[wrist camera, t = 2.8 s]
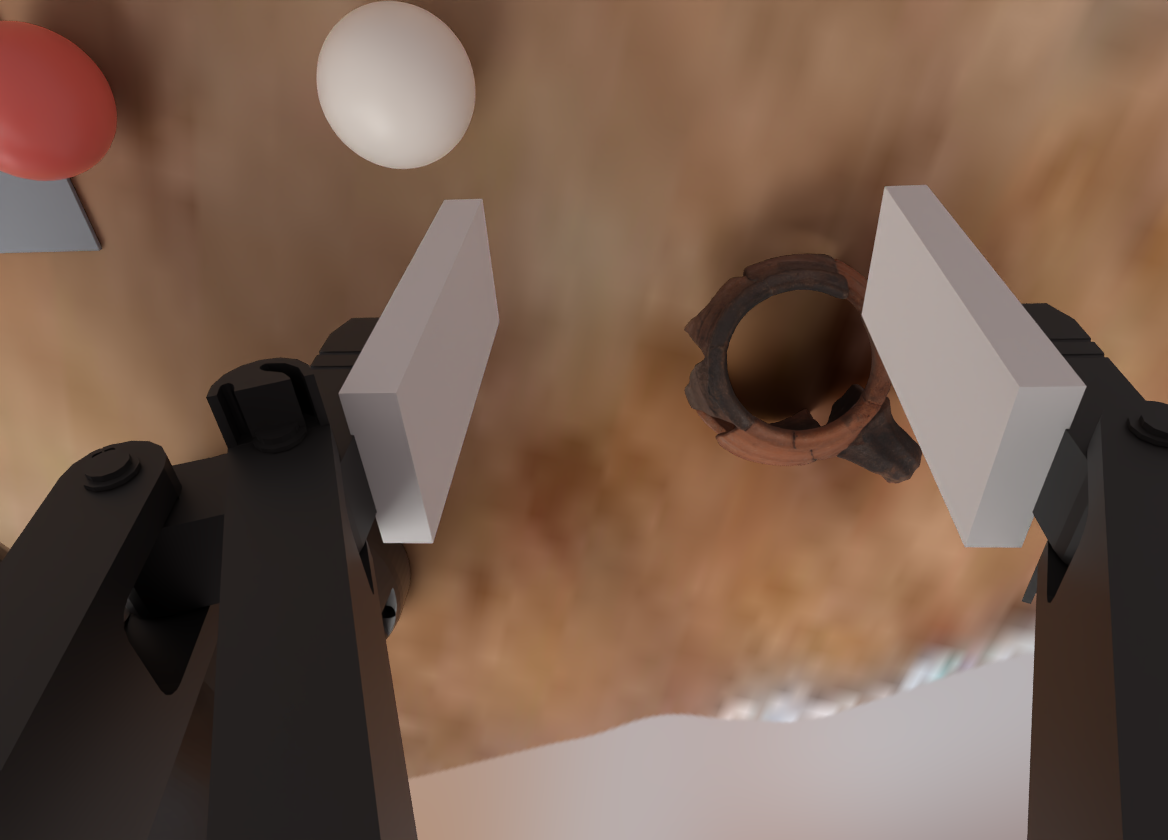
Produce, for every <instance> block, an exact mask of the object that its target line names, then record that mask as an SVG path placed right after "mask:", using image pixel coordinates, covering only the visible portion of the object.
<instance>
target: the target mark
mask: <svg viewBox="0 0 1168 840" xmlns="http://www.w3.org/2000/svg"><path fill="white" fill-rule="evenodd" d="M101 249H102V248H101V245H100V243H99V241H98V239H97V237H96V235H95V232H94V230H93V228H92V226H91V224H90V222H89V219H88V217H87V215H86V213H85V211H84V209H83V206H82V204H81V202H80V200H79V198H78V196H77V193H76V191H75V189H74V187H73V185H72V183H71V180H70V178H67V179H62V180H55V181H36V180H30V179H24V178H19V177H16V176H12V175H10V174H7V173H4V172H2V171H0V253H20V252H59V251H97V250H101Z"/></svg>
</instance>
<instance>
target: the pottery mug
mask: <svg viewBox="0 0 1168 840" xmlns="http://www.w3.org/2000/svg"><path fill="white" fill-rule="evenodd" d="M867 282H868V280H867V279H865V278H864V277H863V276H862V275H861V274H860V273H858V272H857V271H856V270H854V269H853V268H852V267H850V266H848V265H847V264H845V263H843V262H842V261H840V260H837V259H835V260H834V259H833V258H832V257H830V256H828V255H825V254H797V255H786V256H780V257H776V258H771V259H768V260H765V261H762V262H759V263H756V264H753V265H750V266H748V267H747V268H745V269H744V272H743V277H734V278H731V279H729V280H728V281H727V282H726V283H725V284H724V285H723V286H722V287H721V288H720V289H719V291H718V292H717V293H716V295H715V296H714V297H713V298H712V299H711V301H710V303H709V304H708V305H707V306H706V307H705V308H704V309H703V310H702V311H701V312H700V313H699V314H698V315H697V316H696V317H694V318H693V319H692V320H691V321H690V322H689V323H688V324H687V325H686V326H685V328H684V330H685V331H686V332H687V333H688V334H689V335H690V337H691V338H692V340H693V341H694V342H695V343H696V344H697V345H698V346H699V348H700V349H701V350H702V352H703V354H704V356H705V358H704V360H703V361H701V362H700V363H698V364H696V365H695V367H694V369H693V370H692V372H691V374H690V382H689V384H688V385H687V386H686V387H685V394H686V397H687V399H688V402H689V404H690V406H691V408H693V409H696V410H697V413H698V414H699V416H700V417H701V418H702V420H703V421H704V422H705V423H706V424H707V425H708V426H709V427H711V428H712V429H713V430H714V431H715V432H716V433H718V435H717V436H716V439H717V441H718V443H719V444H720V446H722V447H723V448H725V449H726V450H728V451H729V452H731V453H732V454H734V455H736V456H738V457H741V458H743V459H746V460H749V461H753V462H757V463H762V464H769V465H781V466H793V465H805V464H809V463H811V462H814V461H816V460H817V459H821V460H823V459H827V458H831V457H835V456H837V457H839V458H843V459H846V460H848V461H851V462H853V463H855V464H857V465H859V466H861V467H864V468H865V469H867V470H869V471H871V472H873V473H876V474H880V475H881V476H883V478H884V479H885V480H886V481H887V482H889V483H900V482H902V481H905V480H908V479H910V478H911V476H912V474H913V473H914V471H915V470H916V469H917V468H918V467H919V466H920V462H921V455H922V450H921V448H920V446H919V445H918V444H917V443H916V442H915V441H914V440H913V439H912V438H911V437H910V436H909V435H908V434H907V433H906V432H905V431H904V430H903V429H902V428H901V427H900V426H899V425H898V424H897V423H896V422H895V420H894V419H893V417H892V414H891V408H890V400H889V398H888V397H886V396H887V394H888V392H889V390H890V386H891V383H892V382H891V380H890V378H889V376H888V373H887V371H886V369H885V367H884V364H883V362H882V360H881V358H880V355H879V353H878V351H877V349H876V346H875V344H874V342H873V340H872V337H871V335H870V333H869V331H868V328H867V326H866V324H865V322H864V319H863V317H862V309H863V304H864V298H865V293H866V287H867ZM792 290H814V291H819V292H823V293H826V294H829V295H831V296H834V297H836V298H840V299H847V300H848V301H849V302H851V303H852V304H853V305H854V306H855V308H856V309H857V310H858V311H859V313H860V314H861V321H862V323H863V325H864V326H865V329H866V331H867V334H868V336H869V340H870V344H871V350H872V366H871V372H870V376H869V380H868V383H867V385H866V387H865V389H863V388H862V387H861V386H860V385H858V384H854V385H852V386H851V387H850V388H849V389H848V390H847V391H846V393H845V394H844V395H843V396H842V397H841V398H840V399H838V400H837V401H836V402H835V403H834V404H833V406H832V410H831V414H830V416H829V420H828V422H827V424H826V425H824V426H820V425H819V423H818V422H817V421H816V420H814V419H813V417H812V416H811V414H810V413H809V411H808V410H807V409H803V410H801V411H800V412H798V413H796V414H795V415H793V416H792V417H789V418H787V419H785V420H782V421H779V422H775V423H770V424H768V423H766V422H764V421H762V420H760V419H759V418H757V417H755V416H753V415H752V414H751V413H749V412H748V411H747V410H746V409H745V408H744V406H743V405H742V404H741V403H740V401H739V400H738V398H737V397H736V395H735V393H734V391H733V389H732V386H731V383H730V380H729V376H728V370H727V349H728V346H729V342H730V339H731V337H732V334H733V333H734V330H735V328H736V326H737V325H738V323H739V322H740V320H741V319H742V318H743V317H744V316H745V315H746V313H747V312H748V311H749V310H751V309H752V308H753V307H754V306H756V305H757V304H758V303H760V302H762V301H763V300H765V299H767V298H769V297H771V296H773V295H777V294H780V293H783V292H787V291H792Z"/></svg>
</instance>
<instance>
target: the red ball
mask: <svg viewBox="0 0 1168 840" xmlns="http://www.w3.org/2000/svg"><path fill="white" fill-rule="evenodd" d="M116 127H117V110H116V104H115V100H114V97H113V94H112V91H111V88H110V86H109V84H108V82H107V80H106V78H105V77H104V75H103V73H102V72H101V70H100V69H99V68H98V66H97V65H96V64H95V63H94V62H93V60H92V59H91V58H90V57H89V56H88V55H87V54H86V53H85V52H84V51H82V50H81V49H80V48H79V47H78V46H76V45H75V44H74V43H72V42H71V41H69V40H68V39H66V38H65V37H63V36H61V35H59V34H57V33H55V32H53V31H51V30H48V29H46V28H44V27H41V26H37V25H34V24H30V23H25V22H19V21H0V171H2V172H4V173H7V174H10V175H12V176H16V177H19V178H24V179H30V180H36V181H55V180H62V179H67V178H70V177H74V176H77V175H79V174H81V173H83V172H85V171H87V170H89V169H90V168H92V167H93V166H94V165H96V164H97V163H98V162H99V161H100V160H101V159H102V158H103V157H104V156H105V154H106V153H107V151H108V150H109V148H110V146H111V144H112V141H113V139H114V136H115V132H116Z"/></svg>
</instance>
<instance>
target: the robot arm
mask: <svg viewBox="0 0 1168 840" xmlns="http://www.w3.org/2000/svg"><path fill="white" fill-rule="evenodd" d="M862 317H863V319H864V322H865V324H866V326H867V328H868V331H869V333H870V335H871V337H872V340H873V342H874V344H875V346H876V349H877V351H878V353H879V355H880V358H881V360H882V362H883V364H884V367H885V369H886V371H887V373H888V376H889V378H890V380H891V382H892V384H893V387H894V389H895V391H896V393H897V396H898V398H899V400H900V402H901V405H902V407H903V409H904V411H905V414H906V416H907V418H908V420H909V423H910V425H911V427H912V429H913V432H914V434H915V436H916V438H917V441H918V443H919V445H920V447H921V450H922V452H923V454H924V456H925V459H926V461H927V463H928V465H929V468H930V470H931V472H932V474H933V477H934V479H935V481H936V483H937V486H938V488H939V490H940V492H941V494H942V497H943V499H944V501H945V503H946V506H947V508H948V510H949V512H950V515H951V517H952V519H953V521H954V524H955V526H956V528H957V530H958V533H959V535H960V537H961V539H962V542H963V544H964V546H965V547H1022V545H1023V542H1024V540H1025V537H1026V535H1027V532H1028V530H1029V527H1030V525H1031V522H1032V520H1033V517H1034V516H1035V518H1036V520H1037V522H1038V523H1039V525H1040V527H1041V529H1042V530H1043V532H1044V534H1045V536H1046V537H1047V539H1048V541H1047V543H1046V545H1045V548H1044V550H1043V552H1042V555H1041V557H1040V559H1039V562H1038V564H1037V566H1036V568H1035V571H1034V573H1033V575H1032V578H1031V580H1030V582H1029V585H1028V587H1027V589H1026V592H1025V594H1024V597H1023V599H1022V602H1026V603H1030V604H1031V602H1032V600H1033V598H1034V596H1035V593H1037V598H1036V625H1035V651H1034V677H1033V678H1034V679H1033V703H1032V730H1031V756H1030V757H1031V758H1030V783H1029V808H1028V809H1029V810H1028V835H1027V840H1168V404H1165V403H1161V402H1155V401H1146V400H1145V399H1144V398H1143V397H1142V396H1141V395H1140V394H1139V392H1138V391H1137V390H1136V389H1135V388H1134V387H1133V386H1132V384H1131V383H1130V382H1129V381H1128V380H1127V379H1126V378H1125V377H1124V375H1123V374H1122V373H1121V372H1120V371H1119V370H1118V369H1117V367H1116V366H1115V365H1114V364H1113V363H1112V362H1111V361H1110V359H1109V358H1108V357H1104V353H1103V351H1102V350H1101V349H1100V348H1099V347H1098V346H1097V345H1096V343H1095V342H1091V338H1090V337H1089V335H1088V334H1087V333H1086V332H1085V331H1084V330H1083V329H1082V328H1081V326H1080V325H1079V324H1078V323H1077V322H1076V321H1075V320H1074V319H1073V318H1071V317H1069V316H1068V315H1066V314H1064V313H1062V312H1061V311H1059V310H1057V309H1055V308H1054V307H1052V306H1050V305H1048V304H1047V303H1036V304H1021V303H1020V302H1019V301H1018V299H1017V298H1016V297H1015V295H1014V294H1013V293H1012V292H1011V290H1010V289H1009V288H1008V287H1007V285H1006V284H1005V283H1004V282H1003V280H1002V279H1001V278H1000V277H999V275H998V274H997V273H996V272H995V270H994V269H993V268H992V267H991V265H990V264H989V263H988V261H987V260H986V259H985V258H984V256H983V255H982V254H981V253H980V251H979V250H978V249H977V248H976V246H975V245H974V244H973V243H972V241H971V240H970V239H969V238H968V236H967V235H966V234H965V232H964V231H963V230H962V229H961V227H960V226H959V225H958V224H957V222H956V221H955V220H954V219H953V217H952V216H951V215H950V214H949V212H948V211H947V210H946V209H945V207H944V206H943V205H942V204H941V202H940V201H939V200H938V198H937V197H936V196H935V195H934V193H933V192H932V191H931V190H930V188H929V187H928V186H927V185H909V186H885V188H884V193H883V199H882V204H881V210H880V215H879V221H878V226H877V232H876V237H875V243H874V248H873V254H872V259H871V265H870V271H869V276H868V282H867V287H866V293H865V298H864V304H863V309H862ZM498 325H499V314H498V307H497V300H496V292H495V285H494V278H493V271H492V264H491V256H490V249H489V242H488V235H487V228H486V220H485V213H484V206H483V199H458V200H444V201H443V203H442V205H441V207H440V209H439V210H438V212H437V214H436V216H435V218H434V220H433V221H432V223H431V225H430V227H429V229H428V231H427V232H426V234H425V236H424V238H423V240H422V242H421V243H420V245H419V247H418V249H417V251H416V253H415V254H414V256H413V258H412V260H411V262H410V264H409V265H408V267H407V269H406V271H405V273H404V274H403V276H402V278H401V280H400V282H399V284H398V285H397V287H396V289H395V291H394V293H393V295H392V296H391V298H390V300H389V302H388V304H387V306H386V307H385V309H384V311H383V313H382V315H381V317H380V318H351V319H350V320H349V321H347V322H346V323H345V324H343V325H342V326H340V327H339V328H338V329H336V330H335V331H334V332H332V333H331V334H330V335H329V337H328V338H327V340H326V342H325V343H324V345H323V346H322V348H321V350H320V351H319V355H317V356H316V358H315V359H314V361H313V362H312V364H311V366H309V365H308V364H306V363H304V362H301V361H299V360H297V359H289V358H273V359H264V360H259V361H255V362H252V363H249V364H246V365H242V366H240V367H238V368H236V369H234V370H232V371H230V372H228V373H227V374H225V375H223V376H222V377H221V378H220V379H219V380H218V381H216V382H215V383H214V384H213V385H212V386H211V388H210V390H209V392H208V395H207V397H206V398H207V400H208V403H209V405H210V407H211V410H212V412H213V414H214V417H215V419H216V421H217V424H218V426H219V428H220V431H221V433H222V435H223V438H224V440H225V442H226V445H227V447H228V453H227V454H223V455H219V456H216V457H212V458H207V459H202V460H197V461H193V462H188V463H183V464H178V465H174V466H172V465H171V463H170V461H169V459H168V457H167V455H166V453H165V452H164V450H163V448H162V447H161V446H159V445H157V444H154V443H152V442H149V441H128V442H123V443H118V444H112V445H109V446H106V447H103V448H102V449H98V450H96V451H93V452H91V453H90V454H88V455H87V456H85V457H84V458H82V459H81V460H79V461H77V462H76V463H74V464H73V465H72V466H71V467H70V468H69V469H68V470H67V471H66V472H65V473H64V474H63V475H62V476H61V477H60V478H59V480H58V481H57V482H56V484H55V485H54V487H53V488H52V490H51V491H50V493H49V494H48V495H47V497H46V498H45V500H44V501H43V503H42V504H41V506H40V507H39V508H38V510H37V511H36V513H35V514H34V516H33V517H32V519H31V520H30V521H29V523H28V524H27V526H26V527H25V529H24V530H23V532H22V533H21V534H20V536H19V537H18V539H17V540H16V542H15V543H14V545H13V546H12V547H11V549H9V548H8V547H6V546H5V545H3V544H2V543H1V542H0V840H418V839H417V833H416V826H415V820H414V814H413V807H412V801H411V796H410V789H409V782H408V776H407V770H406V764H405V757H404V751H403V745H402V739H401V733H400V726H399V720H398V714H397V708H396V701H395V695H394V689H393V683H392V676H391V670H390V664H389V658H388V651H387V645H386V639H387V638H388V636H389V635H390V634H391V632H392V631H393V629H394V628H395V626H396V624H397V622H398V620H399V618H400V615H401V612H402V609H403V606H404V603H405V599H406V596H407V593H408V590H409V586H410V565H409V561H408V557H407V554H406V552H405V549H404V547H403V545H402V543H433V542H434V539H435V535H436V532H437V529H438V525H439V522H440V519H441V515H442V512H443V509H444V505H445V502H446V499H447V495H448V492H449V488H450V485H451V482H452V478H453V475H454V472H455V468H456V465H457V462H458V458H459V455H460V452H461V448H462V445H463V442H464V438H465V435H466V432H467V428H468V425H469V422H470V418H471V415H472V412H473V408H474V405H475V402H476V398H477V395H478V391H479V388H480V385H481V381H482V378H483V375H484V371H485V368H486V365H487V361H488V358H489V355H490V351H491V348H492V345H493V341H494V338H495V335H496V331H497V328H498Z"/></svg>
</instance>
